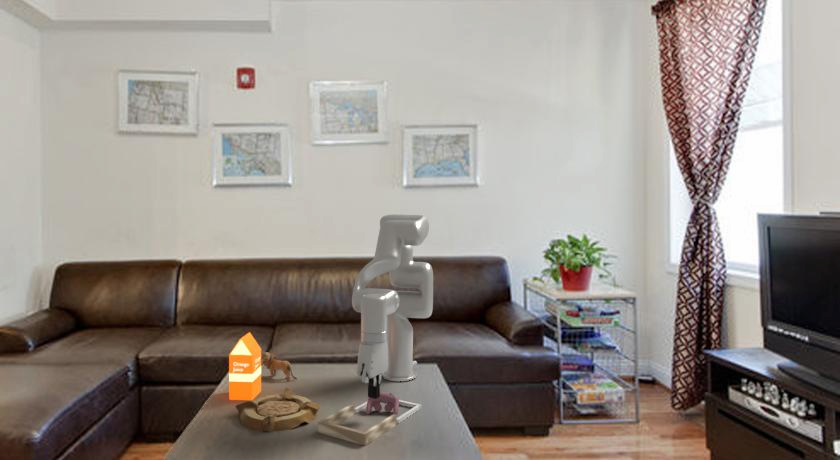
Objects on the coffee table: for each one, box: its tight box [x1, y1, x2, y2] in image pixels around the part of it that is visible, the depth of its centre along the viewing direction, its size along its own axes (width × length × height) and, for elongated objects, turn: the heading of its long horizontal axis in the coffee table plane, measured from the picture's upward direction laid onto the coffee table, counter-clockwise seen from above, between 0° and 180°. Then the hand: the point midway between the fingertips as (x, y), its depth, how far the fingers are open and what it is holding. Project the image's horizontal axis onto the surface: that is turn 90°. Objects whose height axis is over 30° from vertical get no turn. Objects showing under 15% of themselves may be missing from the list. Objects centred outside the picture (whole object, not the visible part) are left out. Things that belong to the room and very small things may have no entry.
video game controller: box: [365, 391, 400, 416], centre depth 166 cm, size 10×5×7 cm, turn 84°
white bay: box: [354, 399, 422, 424], centre depth 167 cm, size 14×16×1 cm
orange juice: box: [228, 331, 262, 401], centre depth 178 cm, size 8×9×20 cm
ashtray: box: [235, 387, 321, 433], centre depth 162 cm, size 24×24×5 cm
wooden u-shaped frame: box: [317, 403, 397, 447], centre depth 153 cm, size 15×16×3 cm
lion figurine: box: [261, 351, 298, 383], centre depth 196 cm, size 15×5×9 cm, turn 72°
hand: (373, 397), depth 161 cm, fingers closed
